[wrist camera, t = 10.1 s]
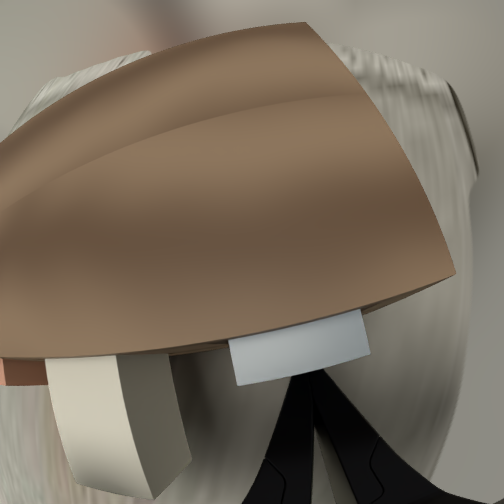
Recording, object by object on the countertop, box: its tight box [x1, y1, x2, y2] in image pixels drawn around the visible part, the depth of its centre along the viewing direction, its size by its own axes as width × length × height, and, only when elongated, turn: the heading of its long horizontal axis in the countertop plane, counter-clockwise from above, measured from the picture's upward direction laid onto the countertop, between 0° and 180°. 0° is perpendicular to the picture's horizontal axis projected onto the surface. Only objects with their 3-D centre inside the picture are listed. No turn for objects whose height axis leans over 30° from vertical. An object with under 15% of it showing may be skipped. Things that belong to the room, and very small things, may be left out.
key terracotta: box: [0, 358, 49, 386], centre depth 10 cm, size 6×4×4 cm, turn 11°
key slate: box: [228, 309, 371, 386], centre depth 9 cm, size 6×4×4 cm, turn 11°
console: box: [0, 22, 456, 362], centre depth 13 cm, size 12×22×10 cm, turn 101°
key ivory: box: [45, 354, 192, 500], centre depth 8 cm, size 6×4×4 cm, turn 11°
